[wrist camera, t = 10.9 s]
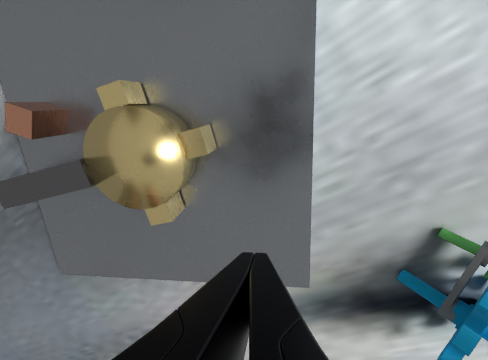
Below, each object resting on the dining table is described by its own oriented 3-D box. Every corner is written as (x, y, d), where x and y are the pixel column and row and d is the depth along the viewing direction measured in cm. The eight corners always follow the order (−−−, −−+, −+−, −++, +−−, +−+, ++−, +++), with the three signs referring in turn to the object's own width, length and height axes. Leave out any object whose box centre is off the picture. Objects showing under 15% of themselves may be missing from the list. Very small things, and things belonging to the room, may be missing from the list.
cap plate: (-13, -4, 19) (-85, -30, 15) (315, -52, 15) (326, -101, 12) (68, 267, 26) (32, 296, 22) (308, 279, 22) (313, 316, 19)
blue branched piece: (460, 366, 21) (436, 428, 14) (389, 311, 25) (345, 338, 18) (543, 254, 19) (563, 261, 12) (451, 214, 23) (426, 203, 16)
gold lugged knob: (191, 64, 17) (172, 56, 14) (232, 198, 20) (222, 216, 17) (9, 126, 21) (-39, 131, 18) (63, 233, 23) (29, 254, 20)
